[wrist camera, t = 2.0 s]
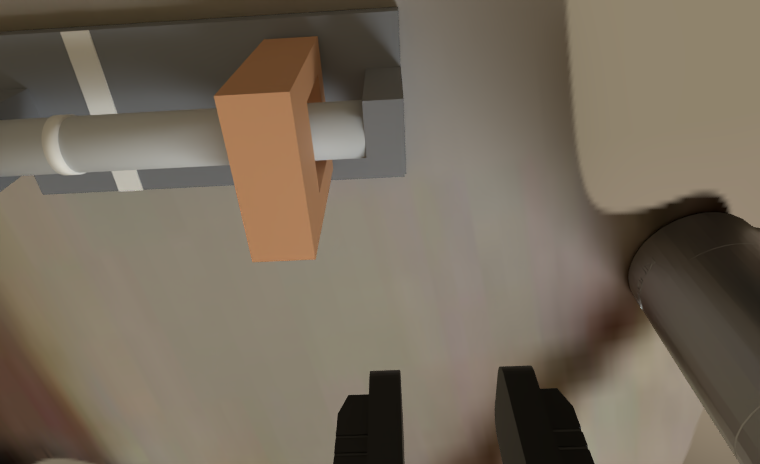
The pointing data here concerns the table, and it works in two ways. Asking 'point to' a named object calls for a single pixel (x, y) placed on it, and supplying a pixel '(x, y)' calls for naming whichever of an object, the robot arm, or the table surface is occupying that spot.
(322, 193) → the collar
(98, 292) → the table surface
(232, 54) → the pipe rail
